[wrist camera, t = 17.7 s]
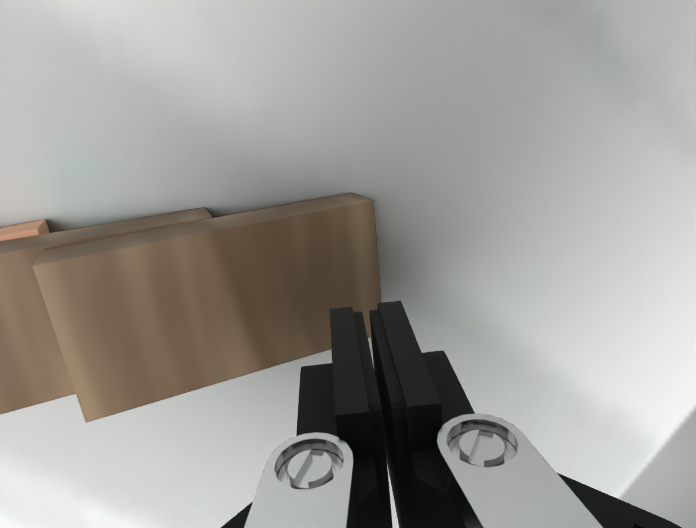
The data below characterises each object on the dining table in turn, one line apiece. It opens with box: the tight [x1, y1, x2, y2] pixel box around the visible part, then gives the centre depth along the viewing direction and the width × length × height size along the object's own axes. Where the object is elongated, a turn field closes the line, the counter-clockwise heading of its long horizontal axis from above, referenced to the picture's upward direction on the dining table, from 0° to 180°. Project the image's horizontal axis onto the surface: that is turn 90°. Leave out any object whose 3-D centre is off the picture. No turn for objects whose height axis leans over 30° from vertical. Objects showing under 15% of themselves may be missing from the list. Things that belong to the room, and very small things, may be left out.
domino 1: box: [0, 207, 212, 414], centre depth 16 cm, size 2×5×10 cm
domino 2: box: [32, 193, 381, 423], centre depth 16 cm, size 2×5×10 cm
